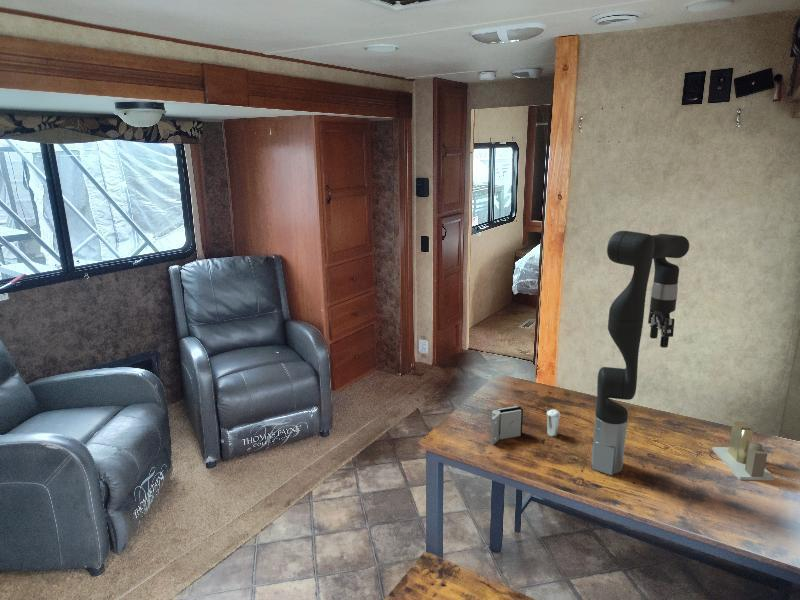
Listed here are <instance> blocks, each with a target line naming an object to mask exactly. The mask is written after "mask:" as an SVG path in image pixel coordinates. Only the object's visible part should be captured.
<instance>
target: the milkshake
mask: <svg viewBox="0 0 800 600" xmlns="http://www.w3.org/2000/svg"><path fill="white" fill-rule="evenodd" d="M544 407H545V410H546V424H547V425H546V427H547V428H546V429H547V433H546V434H547V435H548V436H550V437H557V435H558V429H559V422H560V418H561V413H560V411H559V410H558V409H556V408H555V409H549V410H548V408H547V405H545V406H544Z"/></svg>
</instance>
